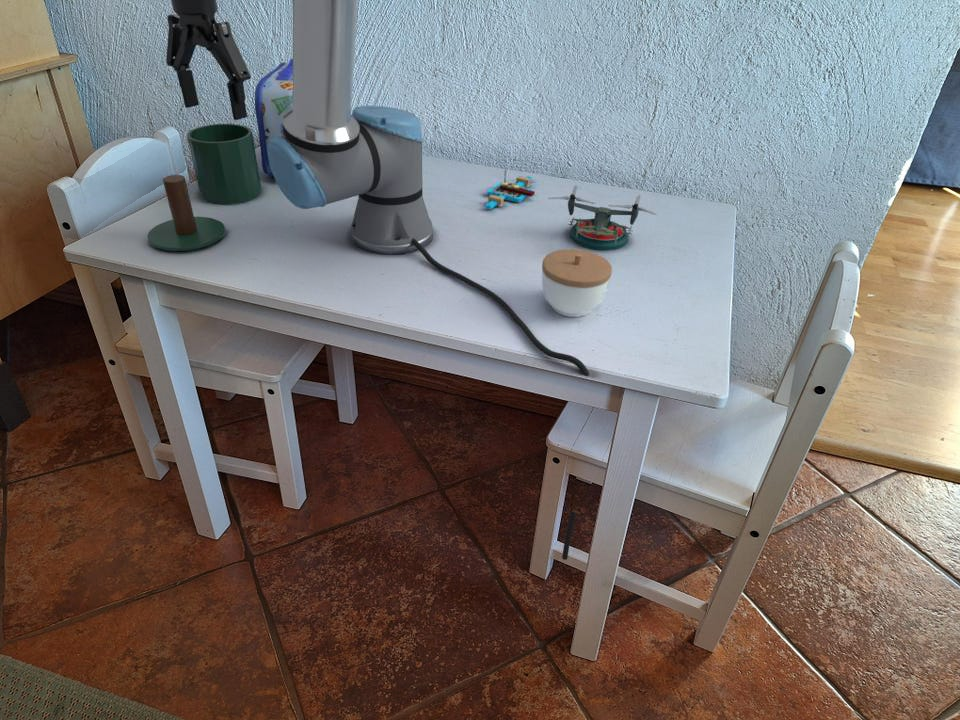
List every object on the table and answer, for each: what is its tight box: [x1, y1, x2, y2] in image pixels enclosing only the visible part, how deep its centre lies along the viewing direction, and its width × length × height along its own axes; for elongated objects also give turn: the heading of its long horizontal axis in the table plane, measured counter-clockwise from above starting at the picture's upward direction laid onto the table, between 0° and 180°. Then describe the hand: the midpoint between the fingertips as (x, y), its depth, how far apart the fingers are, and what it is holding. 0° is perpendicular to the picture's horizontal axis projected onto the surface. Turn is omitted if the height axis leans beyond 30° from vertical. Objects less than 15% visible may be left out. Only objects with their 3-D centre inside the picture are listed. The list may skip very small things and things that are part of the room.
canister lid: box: [147, 174, 226, 252], centre depth 117 cm, size 13×13×11 cm
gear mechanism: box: [485, 168, 536, 210], centre depth 140 cm, size 20×5×9 cm
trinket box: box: [541, 248, 613, 318], centre depth 103 cm, size 11×11×9 cm
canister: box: [186, 123, 262, 205], centre depth 134 cm, size 12×12×12 cm
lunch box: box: [254, 58, 293, 177], centre depth 146 cm, size 28×10×22 cm, turn 1°
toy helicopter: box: [547, 185, 659, 251], centre depth 123 cm, size 20×15×8 cm
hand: (215, 112), depth 128 cm, fingers open, 13 cm apart
